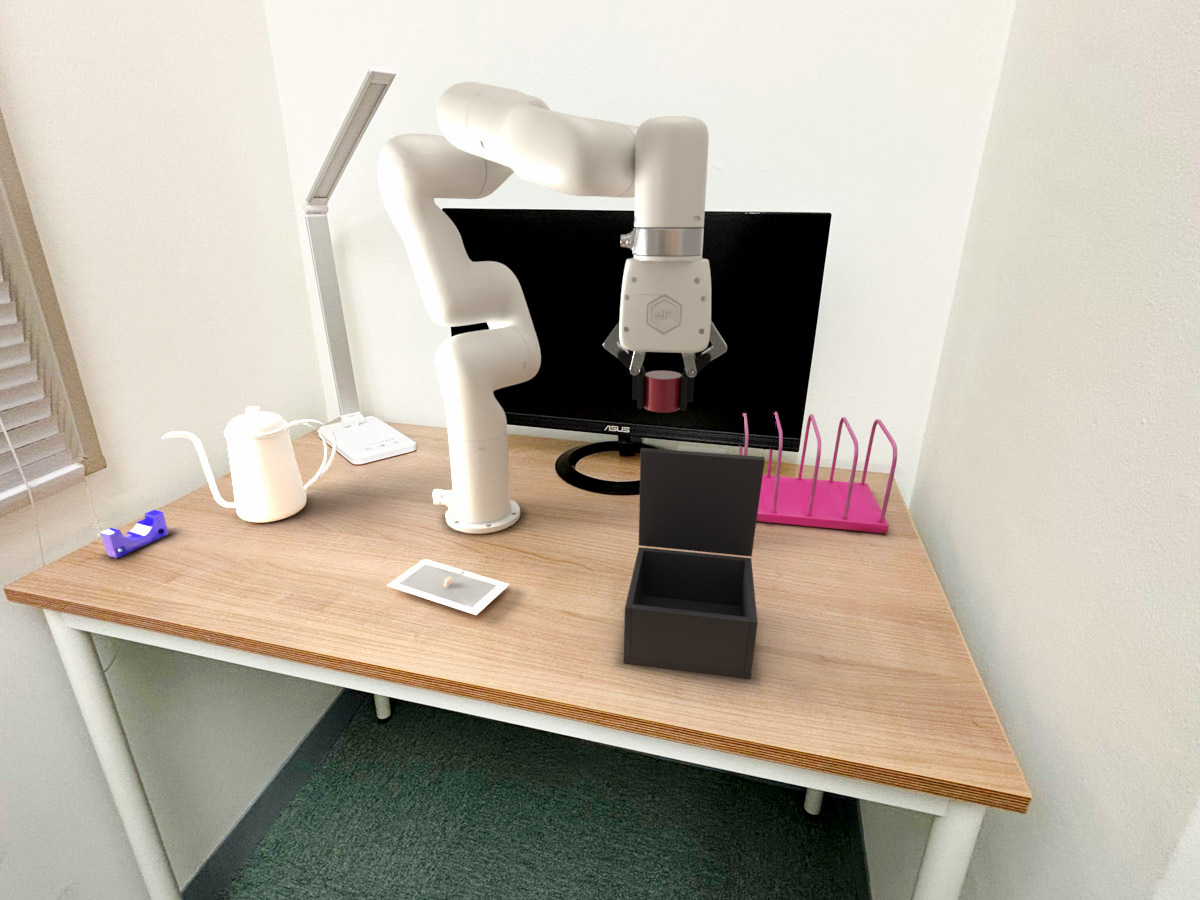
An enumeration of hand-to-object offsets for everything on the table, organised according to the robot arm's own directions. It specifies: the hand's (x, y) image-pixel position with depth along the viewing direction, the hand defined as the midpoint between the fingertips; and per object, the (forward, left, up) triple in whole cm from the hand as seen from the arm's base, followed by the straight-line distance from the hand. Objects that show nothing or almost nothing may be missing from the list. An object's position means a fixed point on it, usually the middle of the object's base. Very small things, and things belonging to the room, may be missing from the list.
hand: (662, 404), depth 74 cm
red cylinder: (0, 0, 0) cm, 0 cm away
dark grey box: (+5, -6, -28) cm, 29 cm away
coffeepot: (-68, +14, -28) cm, 75 cm away
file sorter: (+24, +34, -28) cm, 50 cm away
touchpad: (-28, -3, -28) cm, 40 cm away
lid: (+5, -1, -13) cm, 14 cm away
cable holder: (-81, 0, -28) cm, 86 cm away
